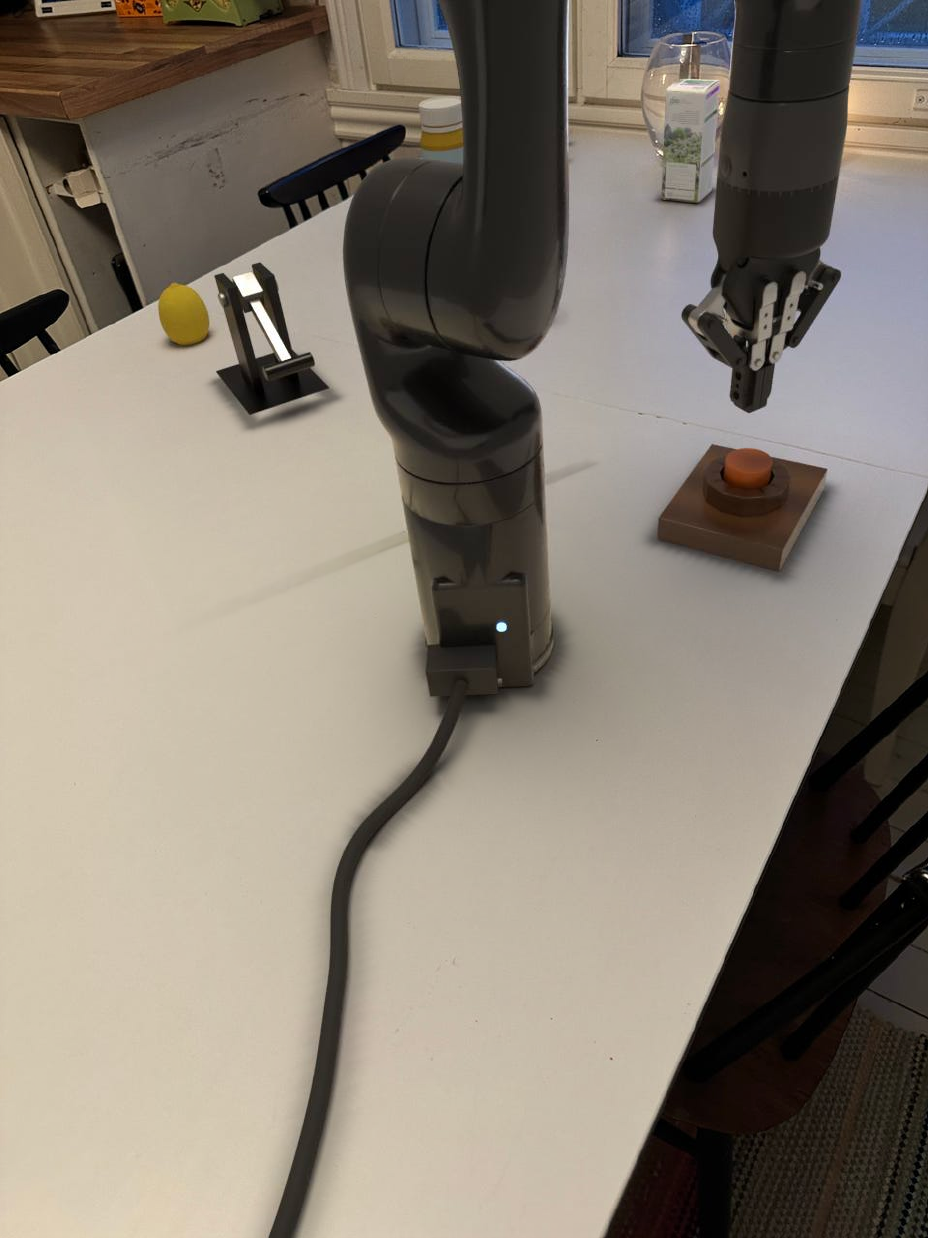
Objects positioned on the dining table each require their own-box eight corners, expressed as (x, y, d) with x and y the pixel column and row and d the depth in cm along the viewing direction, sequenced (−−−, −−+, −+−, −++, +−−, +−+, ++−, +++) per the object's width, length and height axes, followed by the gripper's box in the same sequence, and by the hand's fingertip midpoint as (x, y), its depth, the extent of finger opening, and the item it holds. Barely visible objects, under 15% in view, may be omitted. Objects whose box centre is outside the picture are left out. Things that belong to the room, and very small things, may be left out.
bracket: (332, 398, 99) (306, 280, 90) (252, 425, 96) (219, 307, 88) (292, 357, 107) (266, 246, 98) (218, 381, 104) (184, 269, 96)
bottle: (422, 223, 136) (408, 109, 125) (437, 205, 140) (425, 95, 130) (468, 223, 134) (457, 108, 124) (481, 206, 138) (472, 94, 128)
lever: (315, 372, 93) (315, 356, 91) (268, 387, 91) (267, 371, 89) (266, 283, 96) (265, 266, 94) (221, 297, 95) (218, 280, 93)
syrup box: (713, 190, 134) (722, 77, 124) (697, 204, 130) (705, 89, 121) (675, 187, 136) (681, 76, 127) (659, 200, 133) (664, 87, 123)
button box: (778, 572, 71) (786, 530, 69) (656, 539, 76) (659, 499, 73) (823, 490, 79) (831, 449, 76) (709, 464, 83) (713, 425, 80)
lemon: (161, 355, 111) (139, 290, 105) (191, 335, 114) (171, 271, 109) (196, 361, 109) (176, 295, 103) (226, 341, 112) (207, 276, 107)
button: (761, 495, 73) (763, 476, 72) (716, 484, 74) (718, 466, 73) (775, 471, 75) (778, 453, 74) (732, 462, 77) (734, 443, 75)
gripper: (737, 207, 55) (713, 457, 66) (900, 153, 59) (850, 397, 70) (658, 177, 60) (648, 414, 71) (813, 129, 64) (780, 361, 75)
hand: (749, 405), depth 71 cm, fingers closed
